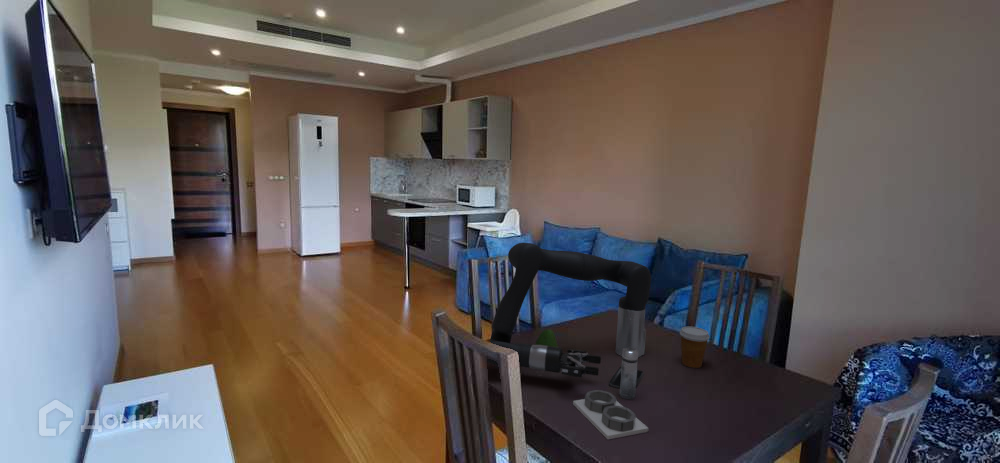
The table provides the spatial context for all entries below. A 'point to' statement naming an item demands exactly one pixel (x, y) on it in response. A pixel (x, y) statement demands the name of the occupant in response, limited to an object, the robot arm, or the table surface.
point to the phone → (617, 378)
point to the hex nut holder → (609, 415)
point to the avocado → (547, 338)
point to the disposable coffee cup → (693, 345)
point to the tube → (628, 373)
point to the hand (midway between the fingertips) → (599, 365)
